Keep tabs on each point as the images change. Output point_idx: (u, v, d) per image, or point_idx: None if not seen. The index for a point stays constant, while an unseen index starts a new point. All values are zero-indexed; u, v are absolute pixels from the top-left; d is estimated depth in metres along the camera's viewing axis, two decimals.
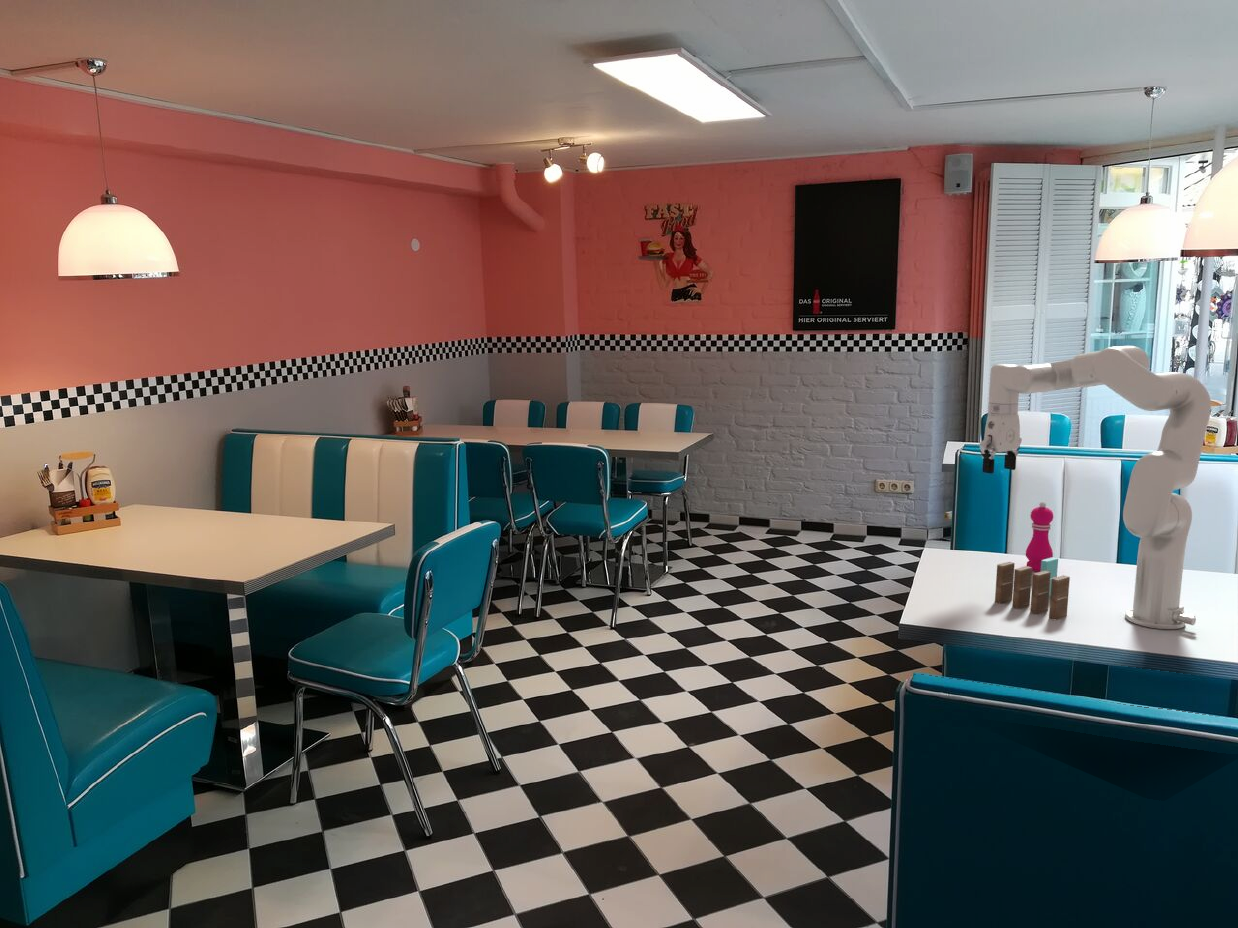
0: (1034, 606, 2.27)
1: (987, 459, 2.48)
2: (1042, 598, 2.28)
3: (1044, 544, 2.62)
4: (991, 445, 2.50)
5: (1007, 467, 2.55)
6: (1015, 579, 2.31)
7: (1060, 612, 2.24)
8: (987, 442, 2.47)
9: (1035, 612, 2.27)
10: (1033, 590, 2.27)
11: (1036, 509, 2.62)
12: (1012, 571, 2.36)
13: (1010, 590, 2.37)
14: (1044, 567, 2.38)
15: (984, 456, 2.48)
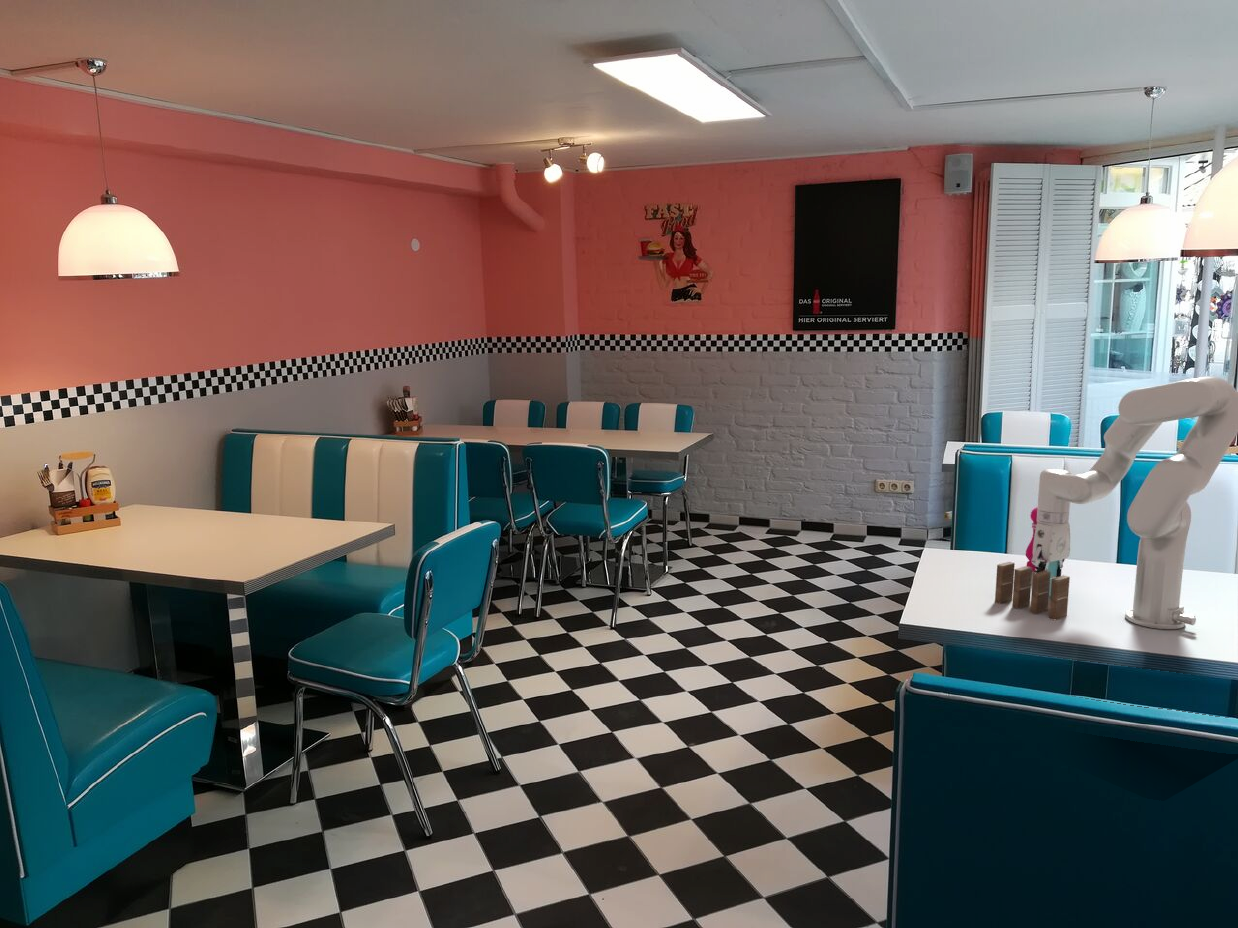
0: (1034, 606, 2.27)
1: None
2: (1042, 598, 2.28)
3: None
4: None
5: None
6: (1015, 579, 2.31)
7: (1060, 612, 2.24)
8: (1039, 556, 2.35)
9: (1035, 612, 2.27)
10: (1033, 590, 2.27)
11: (1036, 509, 2.62)
12: (1012, 571, 2.36)
13: (1010, 590, 2.37)
14: None
15: (1038, 569, 2.37)
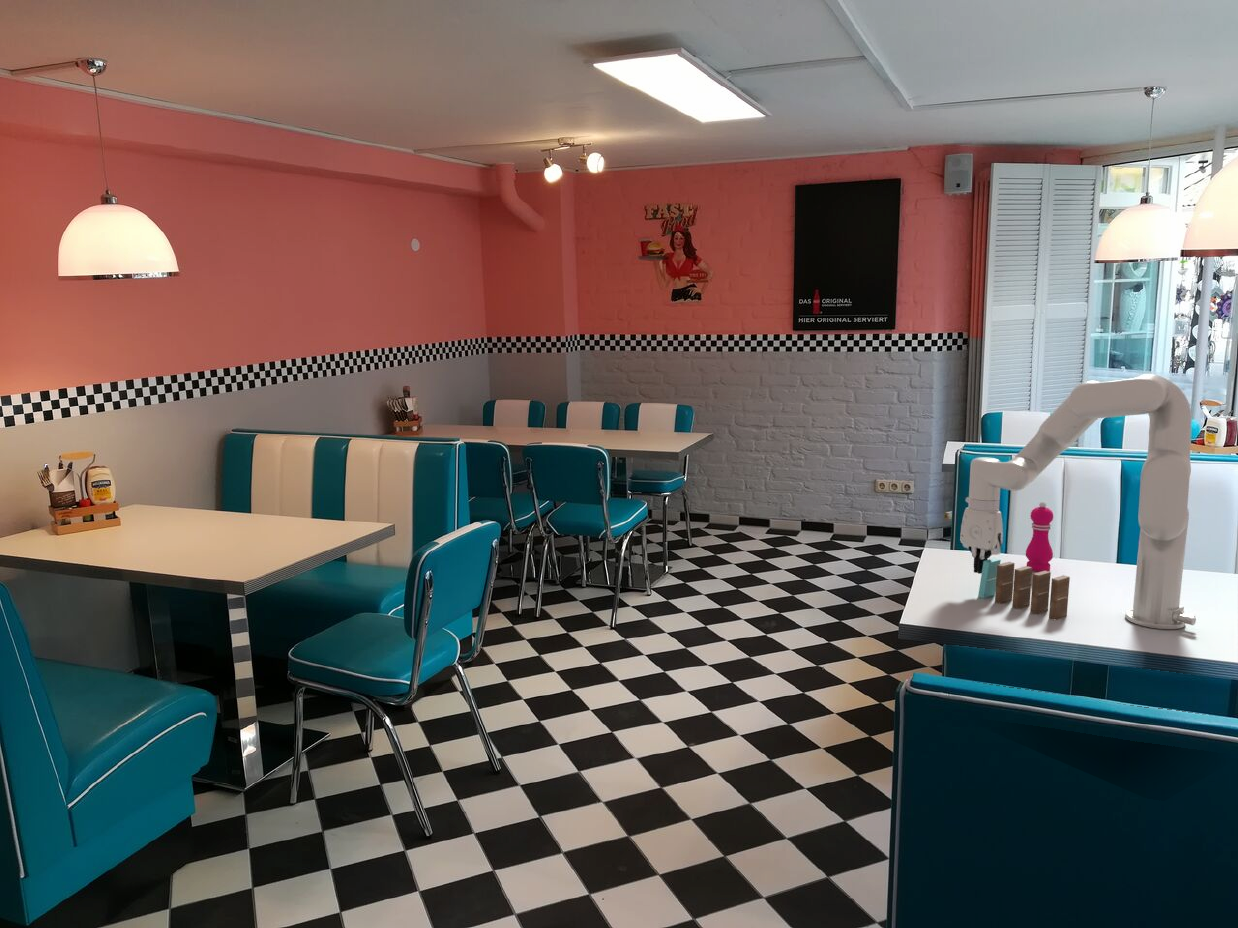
0: (1034, 606, 2.27)
1: None
2: (1042, 598, 2.28)
3: (1044, 544, 2.62)
4: None
5: None
6: (1015, 579, 2.31)
7: (1060, 612, 2.24)
8: None
9: (1035, 612, 2.27)
10: (1033, 590, 2.27)
11: (1036, 509, 2.62)
12: (1012, 571, 2.36)
13: (1010, 590, 2.37)
14: (986, 568, 2.38)
15: None
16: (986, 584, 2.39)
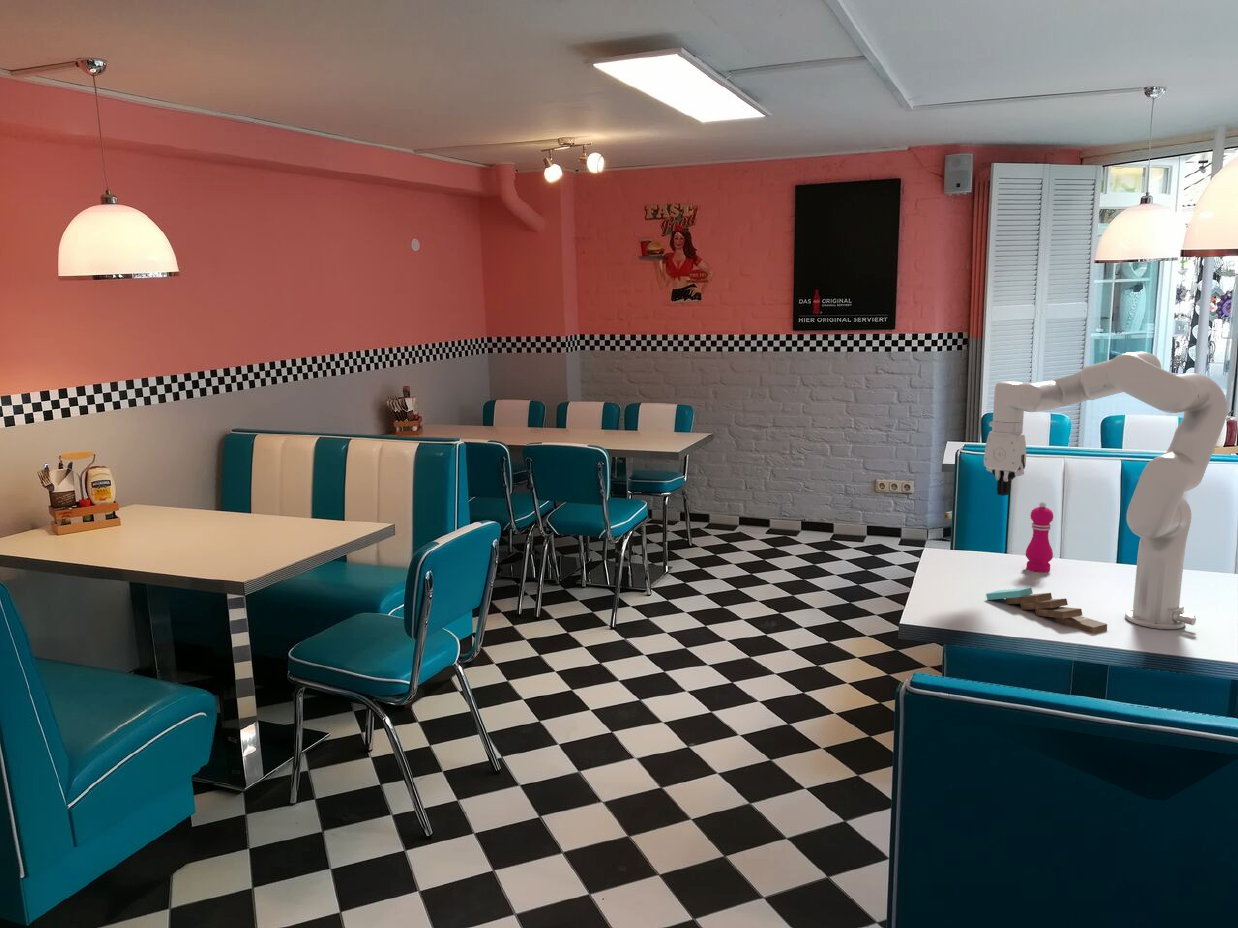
0: (1040, 613, 2.24)
1: None
2: None
3: (1044, 544, 2.62)
4: None
5: None
6: (1042, 603, 2.24)
7: None
8: None
9: (1036, 614, 2.26)
10: (1051, 612, 2.20)
11: (1036, 509, 2.62)
12: None
13: None
14: (1014, 595, 2.31)
15: None
16: (1001, 598, 2.35)
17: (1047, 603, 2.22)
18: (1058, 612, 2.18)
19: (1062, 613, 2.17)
